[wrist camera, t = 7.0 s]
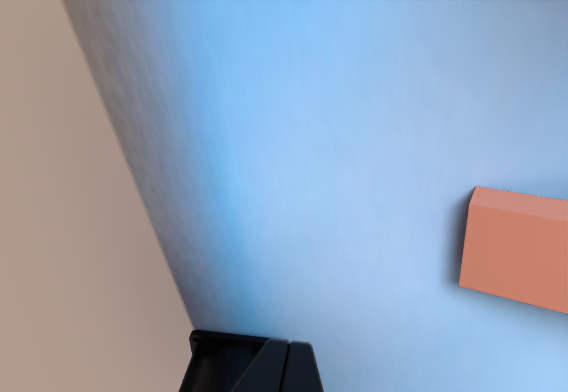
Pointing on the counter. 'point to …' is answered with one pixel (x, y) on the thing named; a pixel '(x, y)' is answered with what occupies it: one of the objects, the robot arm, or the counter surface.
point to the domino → (517, 248)
